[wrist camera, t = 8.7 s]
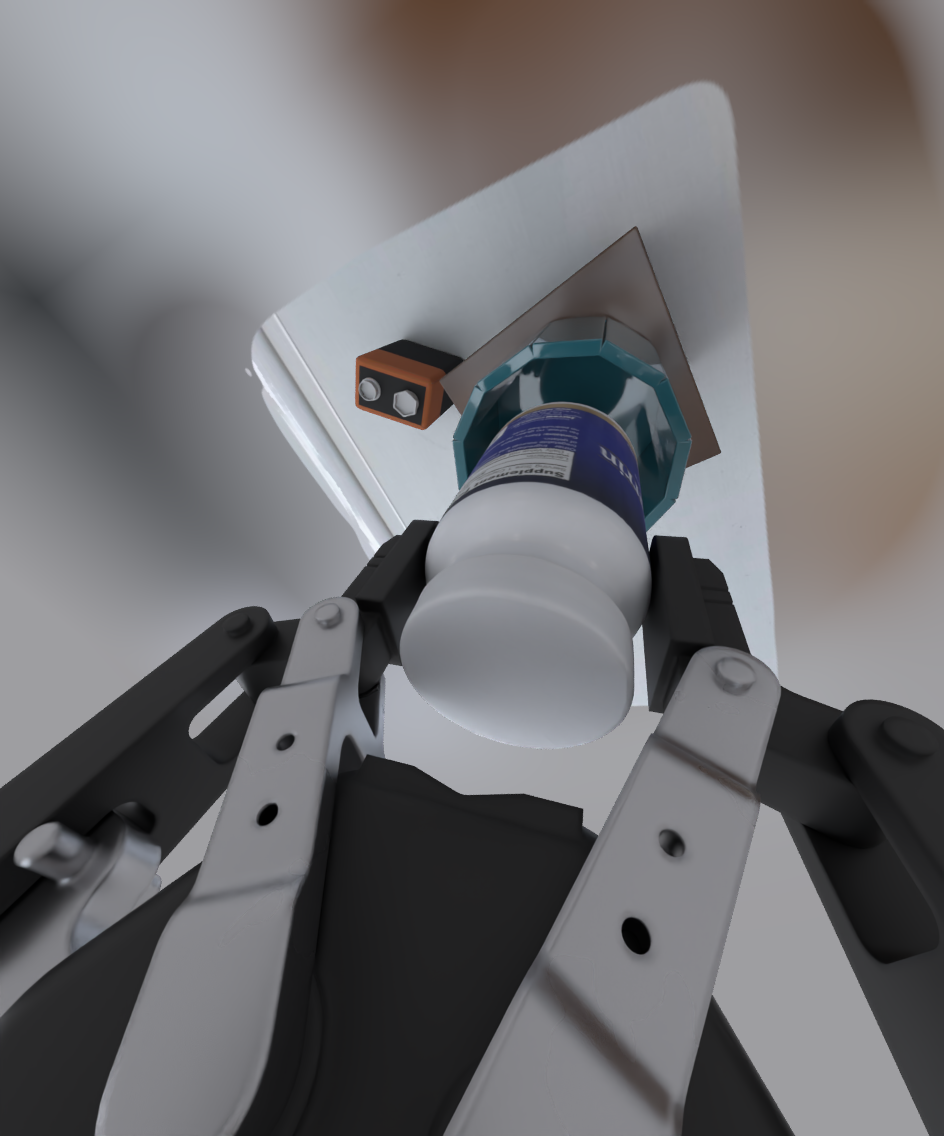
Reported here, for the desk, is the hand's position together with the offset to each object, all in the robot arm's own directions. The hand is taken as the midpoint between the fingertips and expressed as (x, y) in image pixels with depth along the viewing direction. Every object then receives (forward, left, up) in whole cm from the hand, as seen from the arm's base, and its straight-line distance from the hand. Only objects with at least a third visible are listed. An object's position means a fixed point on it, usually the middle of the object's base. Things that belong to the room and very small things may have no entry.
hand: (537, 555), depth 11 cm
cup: (0, 0, -13) cm, 13 cm away
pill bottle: (0, 0, -6) cm, 6 cm away
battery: (-7, -14, -31) cm, 35 cm away
